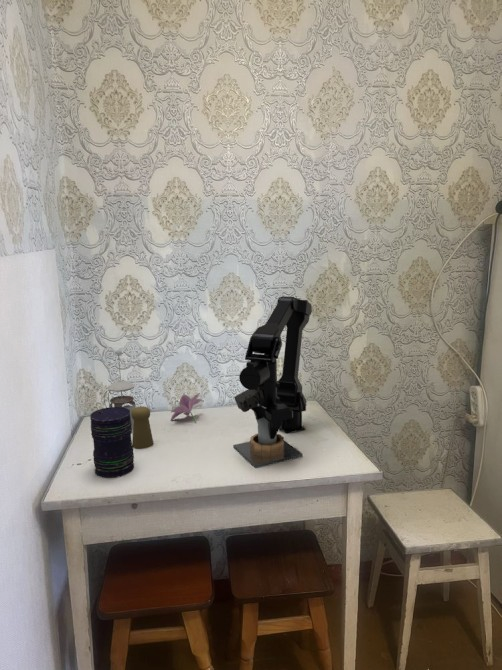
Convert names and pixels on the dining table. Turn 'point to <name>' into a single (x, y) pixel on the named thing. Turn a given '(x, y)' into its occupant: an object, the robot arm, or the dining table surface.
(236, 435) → the dining table surface
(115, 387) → the french press
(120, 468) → the storage jar
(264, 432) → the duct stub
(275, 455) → the duct collar
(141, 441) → the cork
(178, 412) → the lily
